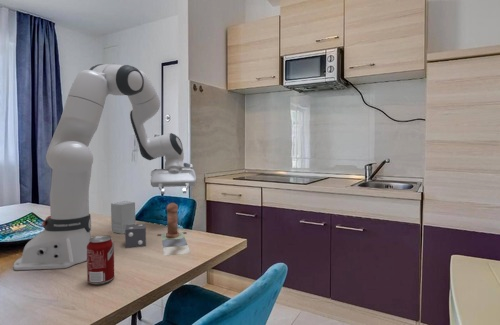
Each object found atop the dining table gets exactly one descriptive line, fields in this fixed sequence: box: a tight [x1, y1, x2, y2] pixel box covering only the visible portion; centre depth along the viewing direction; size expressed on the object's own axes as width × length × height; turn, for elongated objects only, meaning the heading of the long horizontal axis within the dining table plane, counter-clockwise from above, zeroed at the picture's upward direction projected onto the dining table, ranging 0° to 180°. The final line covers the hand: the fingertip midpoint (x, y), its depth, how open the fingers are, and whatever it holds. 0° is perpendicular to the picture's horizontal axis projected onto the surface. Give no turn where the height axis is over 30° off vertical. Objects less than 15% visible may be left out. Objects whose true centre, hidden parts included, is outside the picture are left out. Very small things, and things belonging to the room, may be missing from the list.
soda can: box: [86, 235, 115, 286], centre depth 85 cm, size 7×7×12 cm
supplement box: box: [110, 200, 136, 235], centre depth 135 cm, size 7×7×13 cm
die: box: [124, 223, 147, 249], centre depth 116 cm, size 7×7×7 cm
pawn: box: [165, 202, 180, 238], centre depth 127 cm, size 5×5×14 cm
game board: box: [156, 231, 192, 257], centre depth 119 cm, size 12×28×1 cm, turn 18°
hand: (173, 192), depth 136 cm, fingers open, 8 cm apart
